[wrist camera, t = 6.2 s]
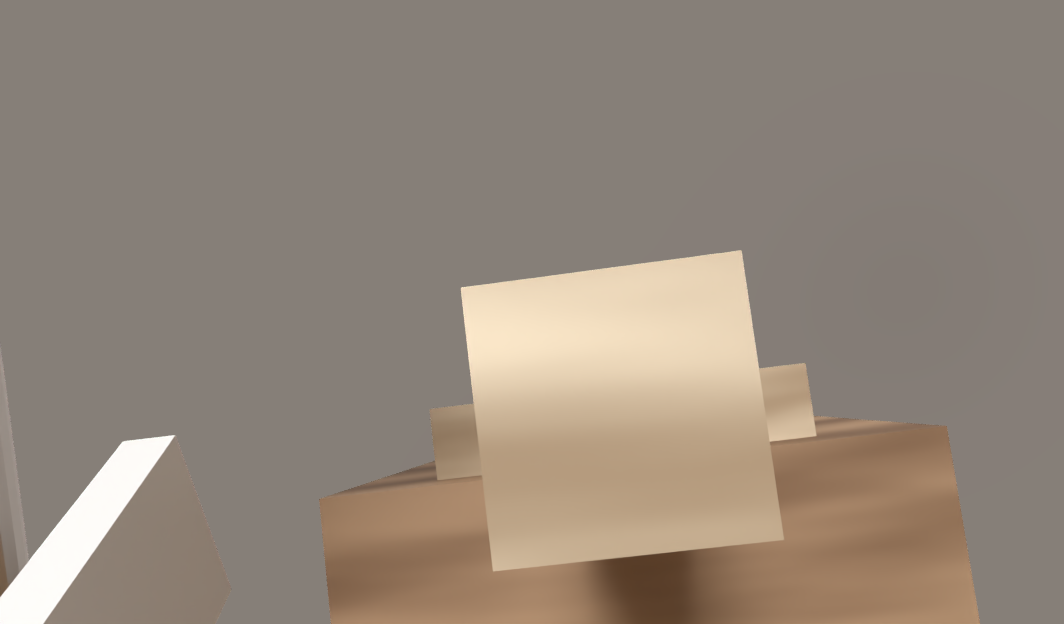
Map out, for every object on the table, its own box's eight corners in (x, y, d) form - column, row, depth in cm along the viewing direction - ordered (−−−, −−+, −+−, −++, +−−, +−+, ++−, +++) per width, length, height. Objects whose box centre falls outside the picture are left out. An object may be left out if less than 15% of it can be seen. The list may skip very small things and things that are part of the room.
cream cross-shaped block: (1170, 498, 9) (1111, 201, 9) (148, 608, 10) (127, 332, 10) (744, 423, 39) (734, 353, 39) (500, 452, 40) (492, 383, 40)
